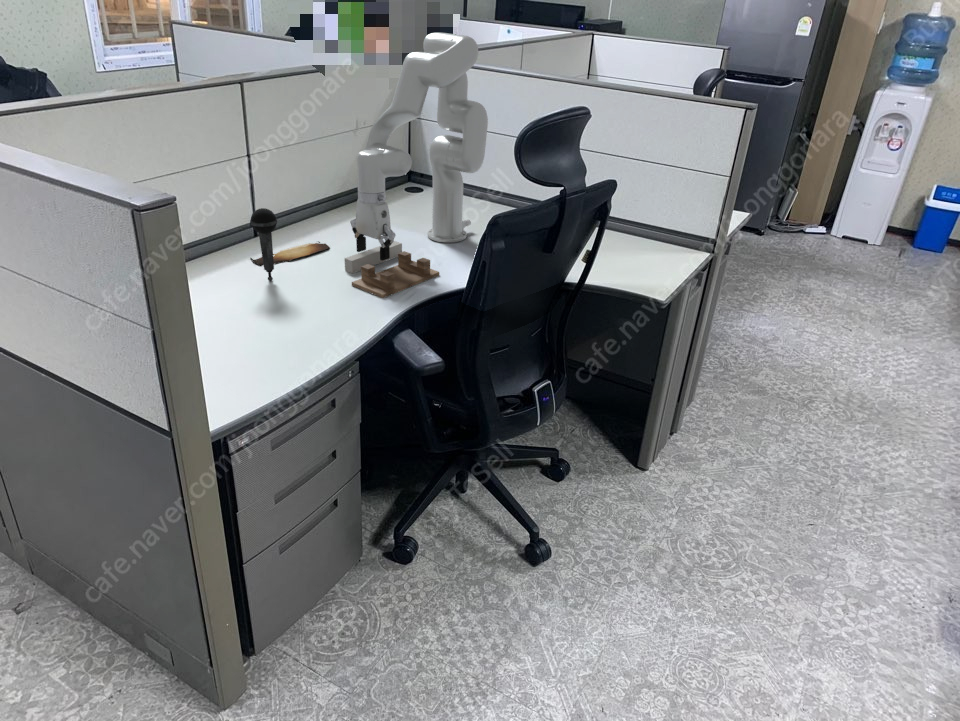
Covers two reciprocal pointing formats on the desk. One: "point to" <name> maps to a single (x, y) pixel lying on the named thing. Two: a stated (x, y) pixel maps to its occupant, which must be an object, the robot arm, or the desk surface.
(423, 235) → the desk surface
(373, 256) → the clay strip
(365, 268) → the wooden pegged board
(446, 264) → the desk surface
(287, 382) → the desk surface
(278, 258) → the parchment
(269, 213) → the microphone
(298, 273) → the desk surface
